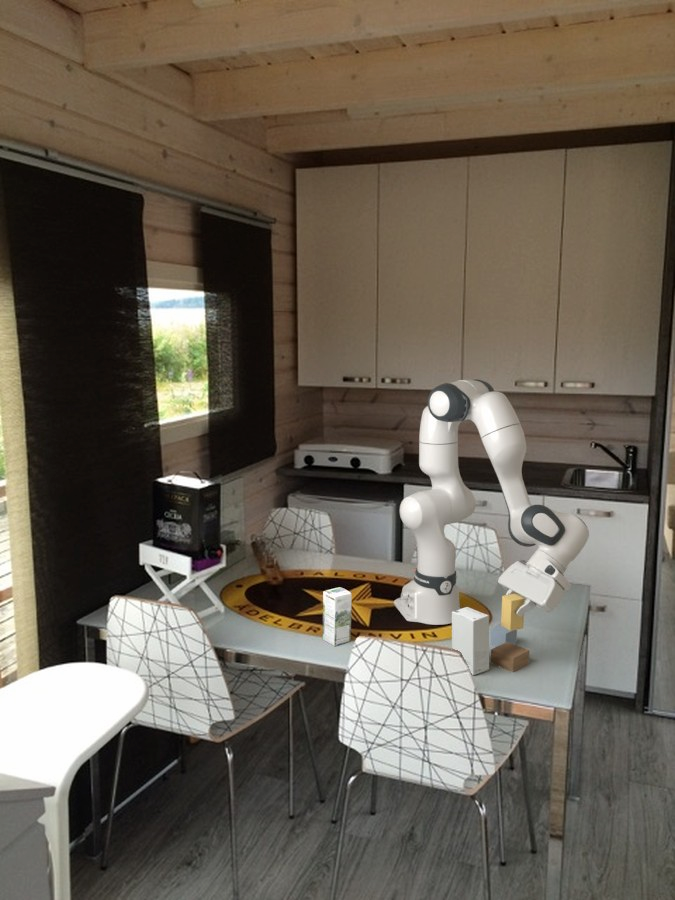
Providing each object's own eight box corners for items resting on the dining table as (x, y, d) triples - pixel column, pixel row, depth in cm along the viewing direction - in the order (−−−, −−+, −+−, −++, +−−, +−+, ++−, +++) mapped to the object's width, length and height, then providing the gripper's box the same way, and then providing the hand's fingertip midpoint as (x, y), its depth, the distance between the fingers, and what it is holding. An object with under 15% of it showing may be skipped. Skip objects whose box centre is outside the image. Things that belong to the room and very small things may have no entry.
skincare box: (489, 670, 205) (491, 615, 202) (472, 676, 202) (474, 620, 199) (466, 658, 212) (468, 605, 209) (449, 664, 209) (451, 610, 206)
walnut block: (490, 663, 210) (490, 649, 209) (506, 655, 214) (506, 641, 214) (512, 672, 205) (513, 658, 204) (528, 664, 209) (529, 650, 209)
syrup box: (338, 634, 226) (339, 585, 224) (351, 642, 222) (352, 592, 219) (322, 639, 223) (322, 590, 220) (334, 647, 218) (335, 596, 216)
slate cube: (490, 645, 221) (490, 628, 220) (501, 640, 224) (501, 623, 223) (505, 651, 217) (506, 633, 216) (516, 645, 220) (517, 628, 219)
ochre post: (501, 625, 208) (502, 595, 207) (513, 622, 210) (515, 593, 209) (510, 630, 205) (511, 600, 203) (523, 628, 206) (524, 598, 205)
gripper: (513, 551, 217) (481, 590, 214) (562, 574, 198) (527, 617, 196) (526, 565, 219) (494, 604, 217) (575, 588, 201) (542, 632, 199)
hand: (510, 610), depth 206 cm, fingers closed on ochre post, 4 cm apart
